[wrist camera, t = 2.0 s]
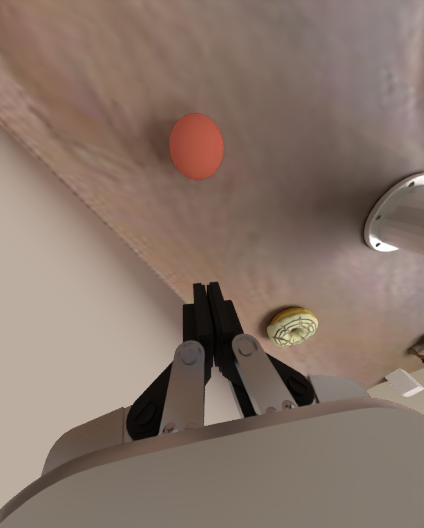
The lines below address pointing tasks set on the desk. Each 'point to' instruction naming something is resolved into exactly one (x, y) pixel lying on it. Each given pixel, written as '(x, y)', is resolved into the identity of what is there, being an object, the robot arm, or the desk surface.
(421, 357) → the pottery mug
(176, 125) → the ball
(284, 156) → the desk surface
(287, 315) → the decorated donut
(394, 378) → the white cube
